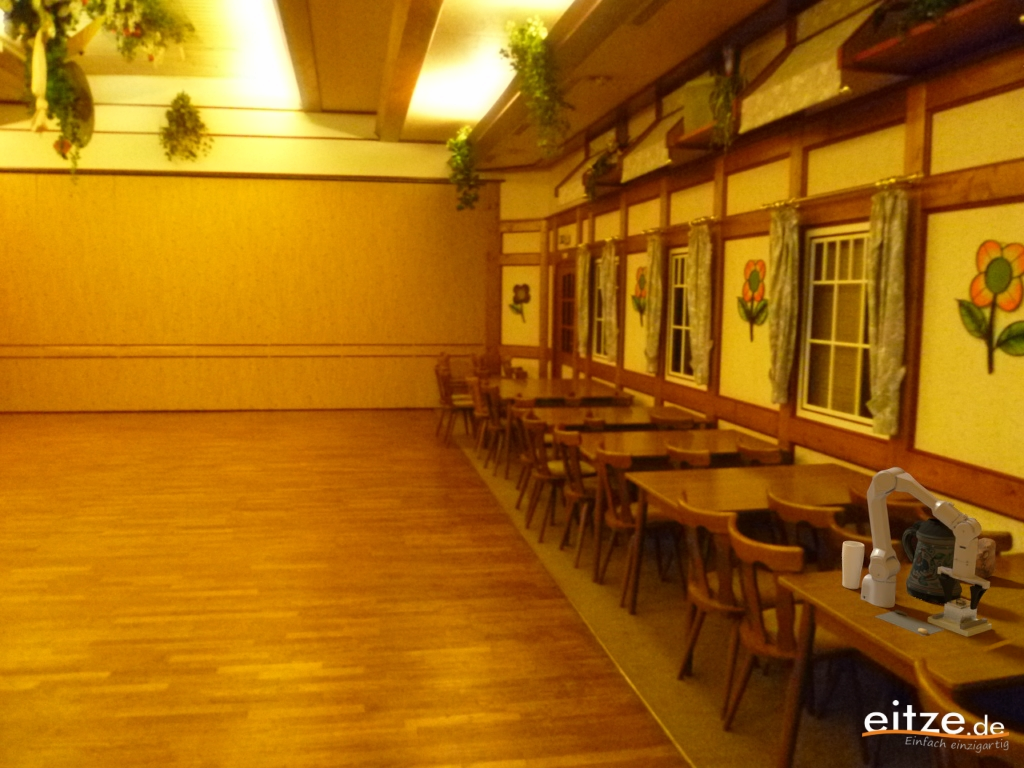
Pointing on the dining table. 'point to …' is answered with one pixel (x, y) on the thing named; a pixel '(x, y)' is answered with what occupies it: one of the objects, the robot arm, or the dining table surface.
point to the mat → (909, 623)
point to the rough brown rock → (985, 558)
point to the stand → (964, 629)
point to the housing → (959, 612)
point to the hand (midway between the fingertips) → (960, 604)
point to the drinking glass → (852, 563)
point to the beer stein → (930, 560)
